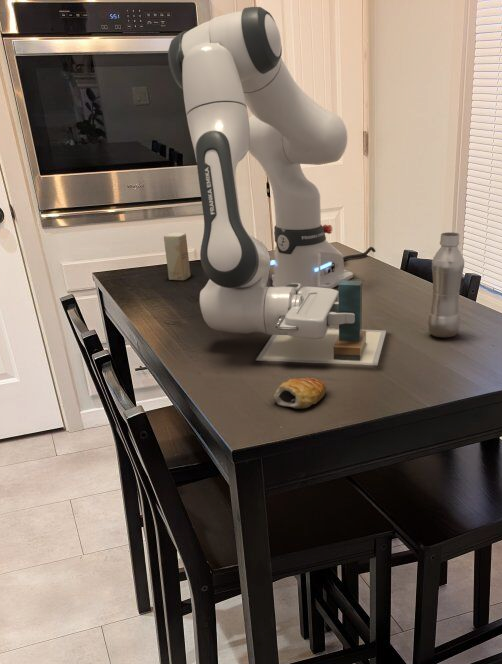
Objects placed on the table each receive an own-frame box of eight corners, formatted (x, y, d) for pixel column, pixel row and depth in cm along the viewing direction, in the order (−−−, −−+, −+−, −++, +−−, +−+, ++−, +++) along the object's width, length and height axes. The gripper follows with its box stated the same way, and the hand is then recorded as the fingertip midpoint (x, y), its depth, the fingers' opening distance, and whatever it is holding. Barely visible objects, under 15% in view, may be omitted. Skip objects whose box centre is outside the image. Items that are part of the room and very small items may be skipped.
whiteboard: (255, 364, 136) (255, 359, 136) (278, 330, 153) (278, 326, 152) (377, 369, 133) (377, 364, 133) (386, 334, 150) (386, 330, 149)
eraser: (333, 359, 135) (332, 289, 129) (341, 341, 144) (340, 275, 137) (360, 360, 135) (360, 290, 128) (366, 342, 143) (367, 276, 136)
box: (183, 281, 188) (178, 236, 182) (168, 280, 189) (162, 235, 183) (191, 275, 192) (186, 232, 186) (176, 275, 193) (170, 231, 187)
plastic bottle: (461, 332, 151) (470, 231, 140) (455, 342, 145) (463, 238, 135) (431, 329, 152) (437, 230, 142) (424, 339, 147) (429, 236, 136)
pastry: (304, 386, 127) (304, 365, 125) (336, 394, 123) (336, 373, 121) (270, 404, 120) (269, 382, 118) (303, 414, 117) (302, 392, 115)
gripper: (271, 311, 127) (349, 314, 125) (294, 280, 144) (362, 282, 142) (273, 345, 130) (349, 349, 128) (295, 312, 147) (362, 314, 145)
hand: (356, 314), depth 135 cm, fingers closed on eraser, 3 cm apart
